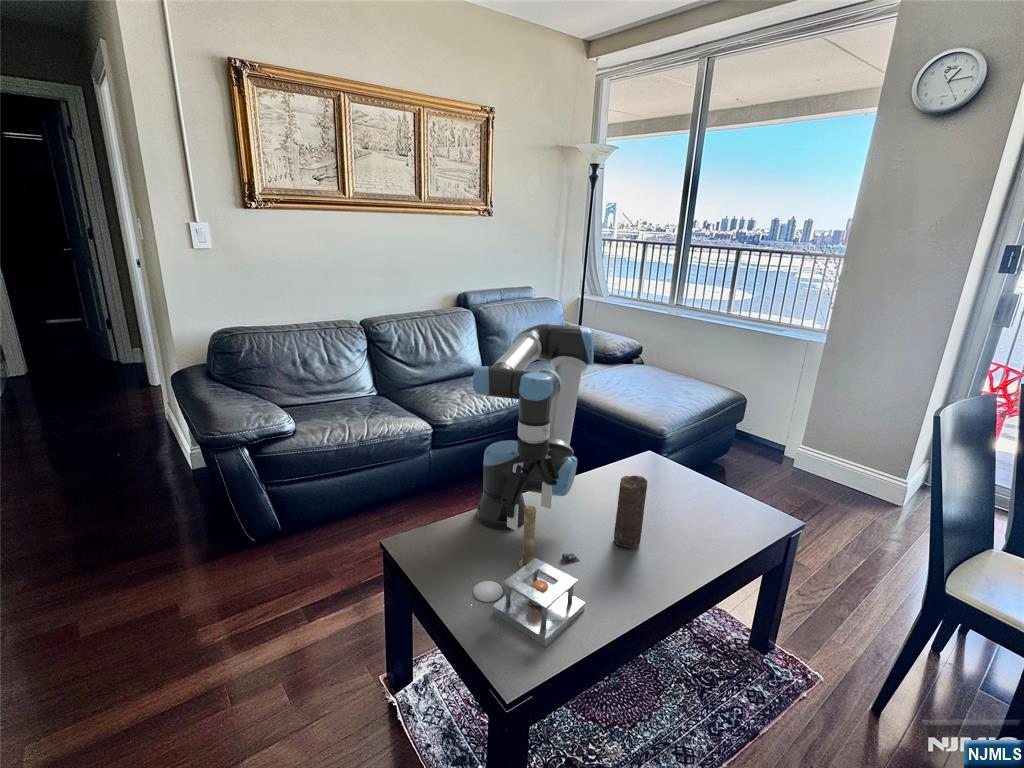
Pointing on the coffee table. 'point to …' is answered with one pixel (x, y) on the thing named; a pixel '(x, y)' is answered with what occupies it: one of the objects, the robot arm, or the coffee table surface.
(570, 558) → the multicolour small angular block
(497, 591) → the coaster
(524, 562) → the turned wooden spindle
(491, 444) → the robot arm
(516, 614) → the grey square frame
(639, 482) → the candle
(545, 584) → the breaker button
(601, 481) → the coffee table surface
